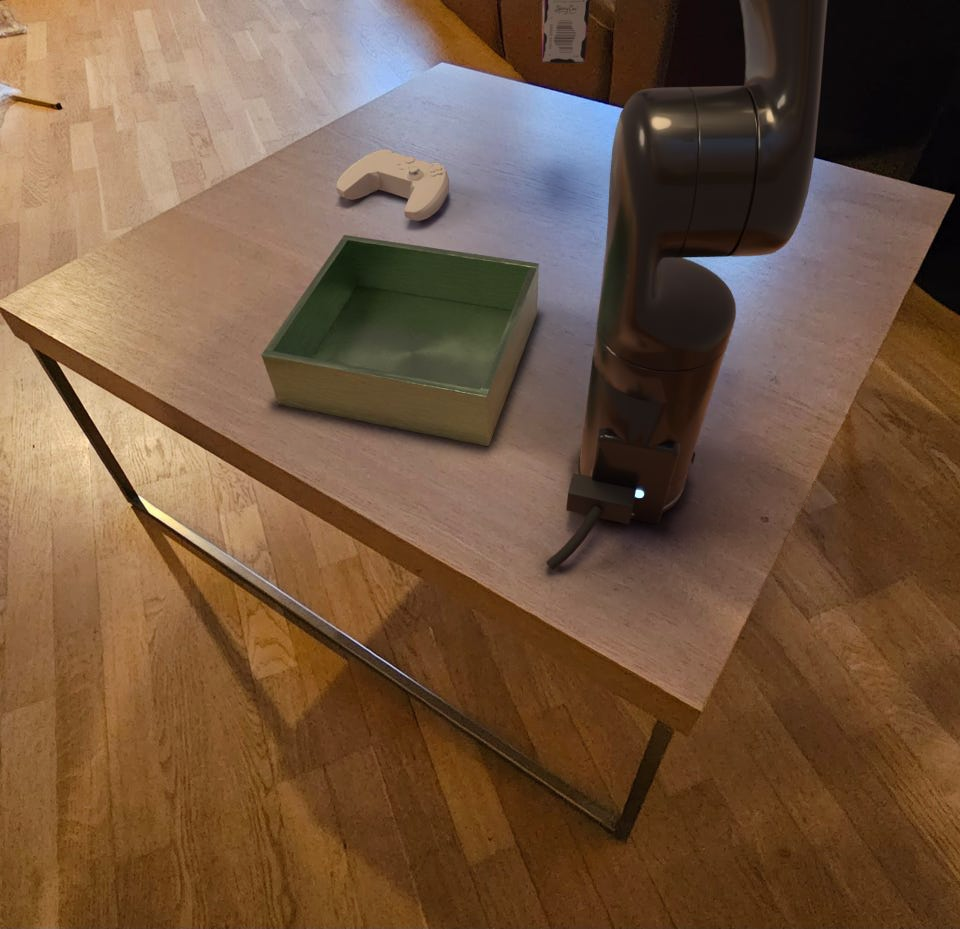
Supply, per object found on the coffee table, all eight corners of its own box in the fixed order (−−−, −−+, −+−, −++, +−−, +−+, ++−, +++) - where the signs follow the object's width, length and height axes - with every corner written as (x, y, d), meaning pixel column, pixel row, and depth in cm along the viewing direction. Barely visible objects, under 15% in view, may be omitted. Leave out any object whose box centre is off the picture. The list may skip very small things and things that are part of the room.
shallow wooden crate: (488, 446, 67) (486, 397, 62) (278, 404, 71) (260, 354, 66) (537, 314, 79) (539, 263, 74) (354, 284, 83) (343, 234, 78)
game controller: (324, 182, 91) (367, 131, 95) (335, 209, 95) (376, 160, 99) (419, 211, 86) (461, 157, 90) (427, 239, 90) (466, 186, 94)
